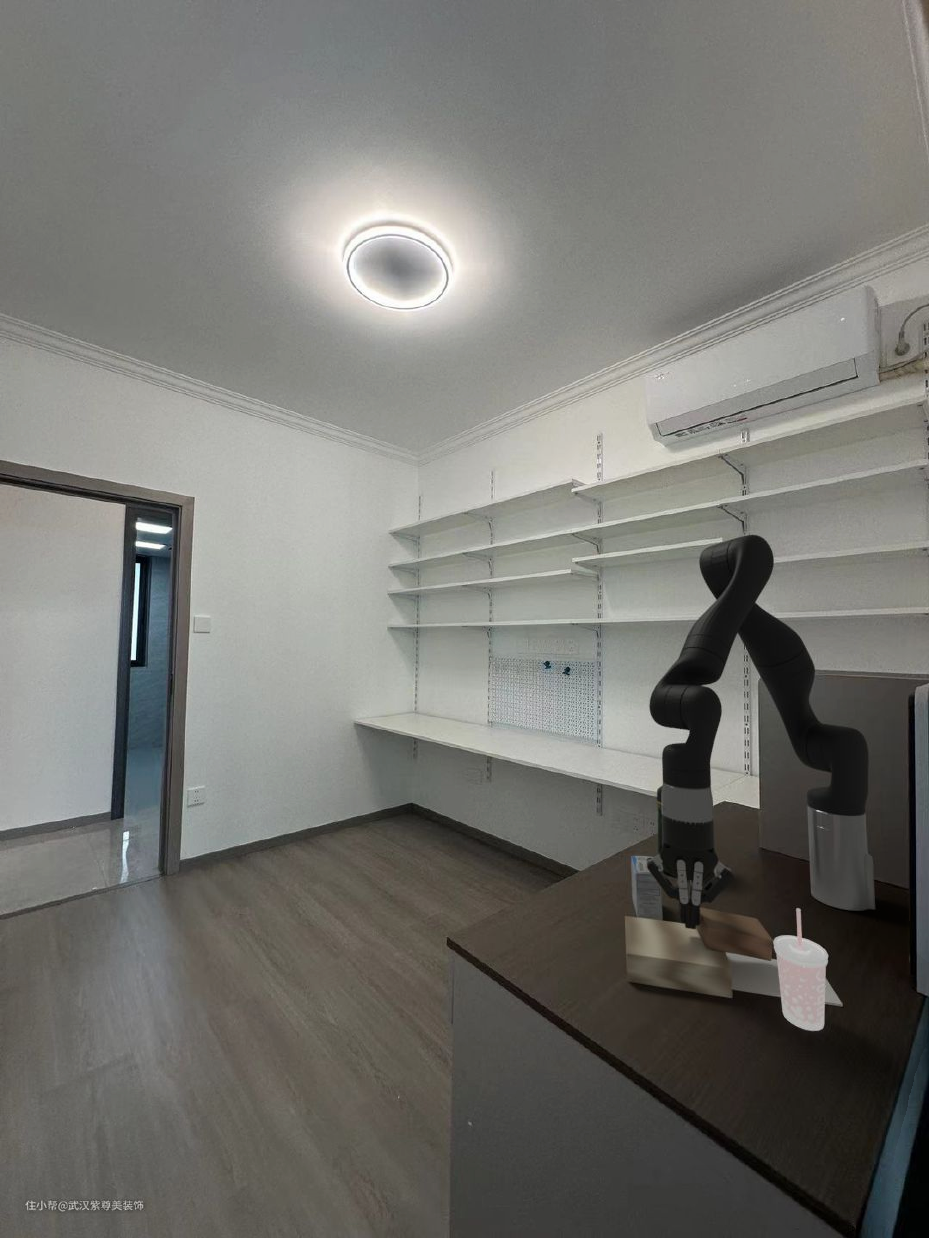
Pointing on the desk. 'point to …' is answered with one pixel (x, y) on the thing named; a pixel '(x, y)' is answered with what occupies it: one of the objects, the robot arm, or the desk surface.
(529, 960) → the desk surface
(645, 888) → the medicine box
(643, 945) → the tan flat block
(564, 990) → the desk surface
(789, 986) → the beverage cup
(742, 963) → the mat
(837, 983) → the desk surface
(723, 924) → the walnut tile
